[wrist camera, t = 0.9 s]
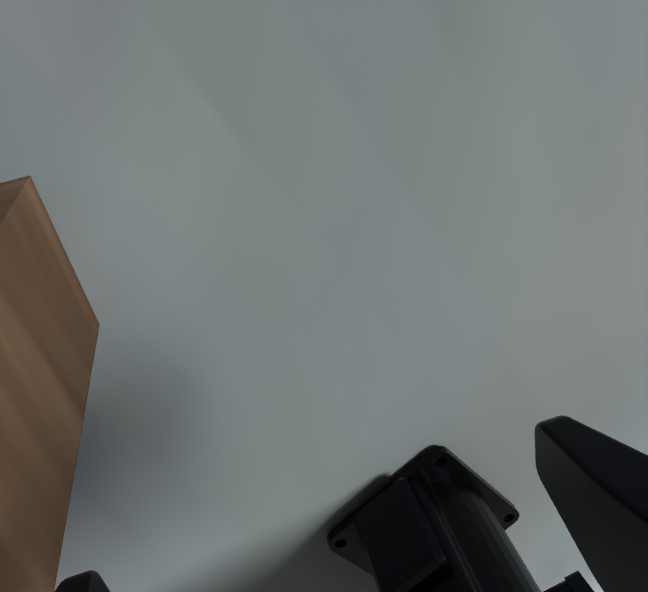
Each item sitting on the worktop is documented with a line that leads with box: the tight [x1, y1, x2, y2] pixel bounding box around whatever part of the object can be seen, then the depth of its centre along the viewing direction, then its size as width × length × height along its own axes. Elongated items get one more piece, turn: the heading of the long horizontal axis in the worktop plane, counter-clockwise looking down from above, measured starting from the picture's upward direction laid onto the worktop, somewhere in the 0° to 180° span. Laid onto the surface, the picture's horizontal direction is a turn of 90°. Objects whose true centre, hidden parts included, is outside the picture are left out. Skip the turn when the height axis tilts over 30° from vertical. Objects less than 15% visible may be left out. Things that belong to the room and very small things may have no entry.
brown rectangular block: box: [0, 176, 99, 592], centre depth 14 cm, size 2×5×10 cm, turn 11°
